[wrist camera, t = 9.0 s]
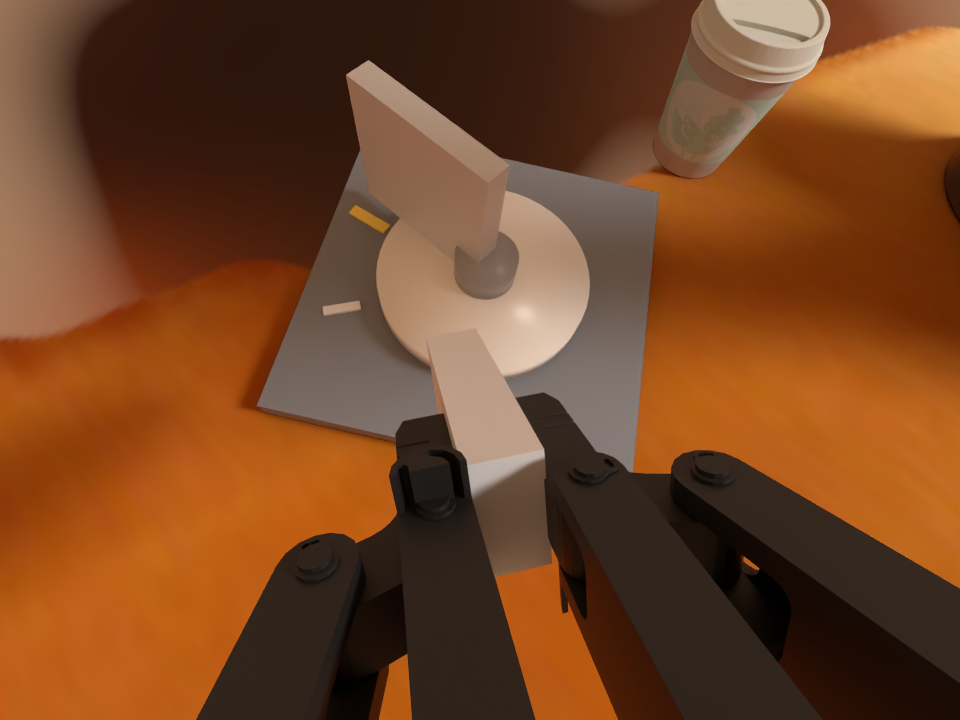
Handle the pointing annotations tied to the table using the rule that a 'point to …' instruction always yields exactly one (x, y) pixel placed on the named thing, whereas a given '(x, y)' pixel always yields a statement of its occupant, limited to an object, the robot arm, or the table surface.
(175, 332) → the table surface
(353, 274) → the dial plate
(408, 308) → the dial
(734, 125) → the coffee cup
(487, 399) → the robot arm
